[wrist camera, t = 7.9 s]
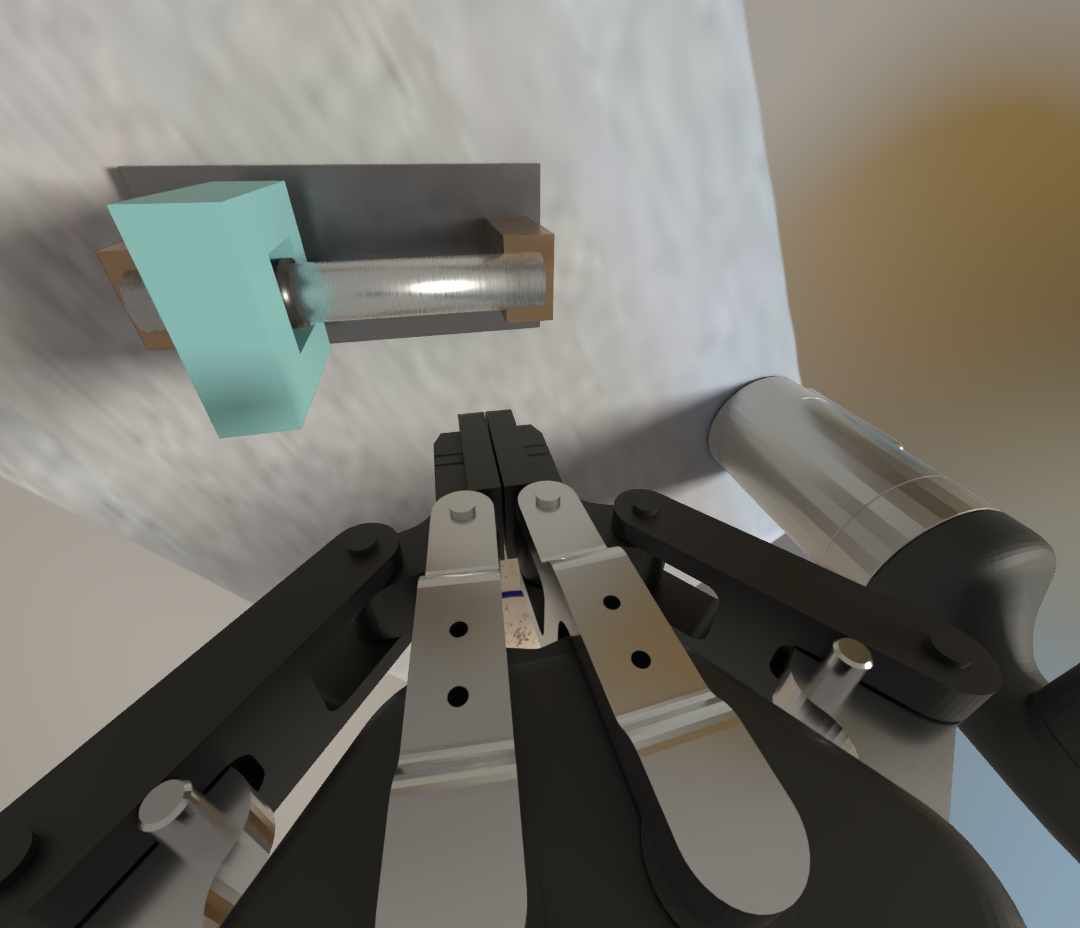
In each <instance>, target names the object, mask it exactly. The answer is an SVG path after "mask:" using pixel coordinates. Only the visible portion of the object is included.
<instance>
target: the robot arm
mask: <svg viewBox="0 0 1080 928" xmlns="http://www.w3.org/2000/svg"><path fill="white" fill-rule="evenodd" d="M458 420H459V429H460V432H451V433H441V434H440V436H439V437H438V439H437V440H436V442H435V443H434V464H435V488H436V503H435V504H434V505H433V508H432V510H431V515H430V517H428V518H427V519H426V520H425V521H424V522H422V523H421V524H419V525H417V526H415V527H413V528H411V529H408V530H405V531H403V532H400V533H396V531H395V530H394V529H393V528H391V527H389V526H387V525H384V524H380V523H365V524H360V525H357V526H354V527H351V528H349V529H347V530H345V531H343V532H342V533H340V534H339V535H338V536H336V537H335V538H334V539H333V540H332V541H330V542H329V543H328V544H327V545H326V546H324V547H323V548H322V549H321V550H319V551H318V552H317V553H316V554H315V555H313V556H312V557H311V558H310V559H308V560H307V561H306V562H305V563H304V564H302V565H301V566H300V567H299V568H297V569H296V570H295V571H294V572H293V573H291V574H290V575H289V576H288V577H287V578H285V579H284V580H283V581H282V582H280V583H279V584H278V585H277V586H276V587H274V588H273V589H272V590H271V591H269V592H268V593H267V594H266V595H265V596H263V597H262V598H261V599H260V600H258V601H257V602H256V603H255V604H254V605H252V606H251V607H250V608H249V609H248V610H247V611H245V612H244V613H243V614H241V615H240V616H239V617H238V618H237V619H235V620H234V621H233V622H232V623H230V624H229V625H228V626H227V627H226V628H224V629H223V630H222V631H221V632H220V633H218V634H217V635H216V636H215V637H213V638H212V639H211V640H210V641H209V642H207V643H206V644H205V645H204V646H202V647H201V648H200V649H199V650H198V651H197V652H195V653H194V654H193V655H192V656H190V657H189V658H188V659H187V660H186V661H184V662H183V663H182V664H181V665H180V666H178V667H177V668H176V669H174V670H173V671H172V672H171V673H170V674H168V675H167V676H166V677H165V678H164V679H162V680H161V681H160V682H159V683H157V684H156V685H155V686H154V687H153V688H151V689H150V690H149V691H148V692H146V693H145V694H144V695H143V696H142V697H140V698H139V699H138V700H137V701H136V702H135V703H133V704H132V705H131V706H129V707H128V708H127V709H126V710H125V711H123V712H122V713H121V714H120V715H118V716H117V717H116V718H115V719H114V720H112V721H111V722H110V723H109V724H107V725H106V726H105V727H104V728H103V729H101V730H100V731H99V732H98V733H97V734H95V735H94V736H93V737H92V738H90V739H89V740H88V741H87V742H85V743H84V744H83V745H82V746H81V747H79V748H78V749H77V750H76V751H75V752H74V753H72V754H71V755H70V756H68V757H67V758H66V759H65V760H64V761H62V762H61V763H60V764H59V765H57V766H56V767H55V768H54V769H53V770H51V771H50V772H49V773H48V774H46V775H45V776H44V777H43V778H42V779H40V780H39V781H38V782H37V783H36V784H34V785H33V786H32V787H31V788H29V789H28V790H27V791H26V792H25V793H23V794H22V795H21V796H20V797H18V798H17V799H16V800H15V801H14V802H12V803H11V804H10V805H9V806H8V807H6V808H5V809H4V810H3V811H1V812H0V928H1027V927H1026V925H1025V923H1024V921H1023V919H1022V917H1021V915H1020V913H1019V911H1018V910H1017V908H1016V906H1015V904H1014V902H1013V900H1012V899H1011V897H1010V896H1009V894H1008V893H1007V891H1006V890H1005V888H1004V886H1003V885H1002V883H1001V882H1000V880H999V879H998V878H997V876H996V875H995V873H994V872H993V871H992V870H991V868H990V867H989V865H988V864H987V863H986V861H985V860H984V859H983V858H982V857H981V856H980V854H979V853H978V852H977V851H976V850H975V849H974V848H973V846H972V845H971V844H970V843H969V842H968V841H967V840H966V839H965V838H964V837H963V836H962V835H961V834H960V833H959V832H958V831H957V830H956V829H955V828H954V827H953V826H952V825H951V824H949V814H950V801H951V800H950V799H951V786H952V772H953V759H954V746H955V731H956V727H959V729H960V730H961V731H962V732H963V733H964V734H965V736H966V737H967V738H968V739H969V740H970V742H971V743H972V744H973V745H974V746H975V747H976V749H977V750H978V751H979V752H980V753H981V754H982V756H983V757H984V758H985V759H986V760H987V761H988V763H989V764H990V765H991V766H992V767H993V768H994V770H995V771H996V772H997V773H998V774H999V775H1000V777H1001V778H1002V779H1003V780H1004V781H1005V782H1006V784H1007V785H1008V786H1009V787H1010V788H1011V790H1012V791H1013V792H1014V793H1015V794H1016V795H1017V796H1018V798H1019V799H1020V800H1021V801H1022V802H1023V803H1024V804H1025V805H1026V807H1027V808H1028V809H1029V810H1030V811H1031V812H1032V813H1033V814H1034V815H1035V817H1036V818H1037V819H1038V820H1039V821H1040V822H1041V823H1042V824H1043V826H1044V827H1045V828H1046V829H1047V830H1048V831H1049V832H1050V833H1051V834H1052V835H1053V837H1054V838H1055V839H1056V840H1057V841H1058V842H1059V843H1060V844H1061V845H1062V846H1063V847H1064V848H1065V849H1066V850H1067V851H1068V852H1069V853H1070V854H1071V855H1072V856H1073V857H1074V858H1075V859H1076V860H1077V861H1078V862H1079V863H1080V663H1079V664H1078V665H1076V666H1074V667H1073V668H1071V669H1070V670H1068V671H1067V672H1065V673H1064V674H1062V675H1061V676H1059V677H1058V678H1056V679H1055V680H1053V681H1052V682H1050V683H1048V681H1047V680H1046V679H1045V678H1044V677H1043V675H1042V674H1041V673H1040V671H1039V669H1038V667H1037V665H1036V663H1035V660H1034V655H1033V630H1034V624H1035V620H1036V616H1037V613H1038V610H1039V608H1040V605H1041V603H1042V601H1043V598H1044V596H1045V594H1046V592H1047V590H1048V587H1049V585H1050V583H1051V581H1052V579H1053V576H1054V573H1055V569H1056V557H1055V553H1054V551H1053V549H1052V547H1051V546H1050V545H1049V544H1048V543H1047V542H1046V541H1045V540H1044V539H1043V538H1042V537H1041V536H1040V535H1038V534H1037V533H1035V532H1034V531H1033V530H1031V529H1030V528H1028V527H1026V526H1025V525H1023V524H1021V523H1020V522H1018V521H1016V520H1015V519H1014V518H1012V517H1010V516H1009V515H1007V514H1005V513H1004V512H1001V511H999V510H998V509H996V508H995V507H993V506H992V505H990V504H989V503H987V502H985V501H984V500H982V499H981V498H979V497H977V496H976V495H974V494H972V493H971V492H969V491H968V490H966V489H965V488H963V487H961V486H960V485H958V484H957V483H955V482H953V481H952V480H950V479H949V478H946V477H945V476H943V475H941V474H940V473H938V472H937V471H935V470H934V469H932V468H930V467H929V466H927V465H926V464H924V463H923V462H921V461H920V460H918V459H916V458H915V457H913V456H912V455H910V454H908V453H907V452H905V451H904V450H903V446H902V444H901V443H899V442H898V441H896V440H894V439H893V438H891V437H890V436H888V435H886V434H885V433H883V432H882V431H880V430H878V429H877V428H875V427H873V426H872V425H870V424H869V423H867V422H865V421H864V420H862V419H860V418H859V417H857V416H855V415H854V414H852V413H851V412H849V411H847V410H846V409H844V408H842V407H841V406H839V405H838V404H836V403H834V402H833V401H831V400H830V399H828V398H826V397H825V396H823V395H821V394H820V393H818V392H817V391H815V390H813V389H812V388H804V387H802V386H801V385H799V384H797V383H796V382H794V381H792V380H790V379H788V378H785V377H778V376H777V377H767V378H764V379H760V380H757V381H755V382H753V383H751V384H749V385H747V386H745V387H744V388H742V389H741V390H739V391H738V392H736V393H735V394H734V395H733V396H732V397H731V398H730V399H729V400H728V401H727V402H726V403H725V404H724V405H723V407H722V408H721V409H720V410H719V412H718V413H717V415H716V417H715V419H714V420H713V423H712V426H711V428H710V432H709V438H708V442H709V449H710V452H711V454H712V456H713V457H714V458H715V459H716V461H717V462H718V463H719V464H720V465H721V466H722V467H723V468H724V469H725V470H726V471H727V472H728V473H729V474H730V475H731V476H732V477H733V478H734V479H735V480H736V481H737V482H738V484H739V485H740V486H741V487H742V488H743V489H744V490H745V491H746V492H747V493H748V494H749V495H750V496H751V497H752V498H753V499H754V500H755V501H756V502H757V503H758V504H759V506H760V507H761V508H762V509H763V510H764V511H765V512H766V513H767V514H768V515H769V516H770V517H771V518H772V519H773V520H774V521H775V522H776V523H777V524H778V525H779V526H780V527H781V528H782V529H783V530H784V531H785V533H787V535H788V536H789V537H790V538H791V539H792V540H793V541H794V542H795V543H796V544H797V545H798V546H799V547H800V548H801V549H802V550H803V551H804V552H805V553H806V554H807V555H808V556H809V557H810V558H811V559H812V560H813V562H815V564H814V563H812V562H810V561H808V560H806V559H804V558H801V557H799V556H797V555H795V554H792V553H790V552H788V551H786V550H784V549H781V548H779V547H777V546H775V545H773V544H770V543H768V542H766V541H764V540H761V539H759V538H757V537H755V536H753V535H750V534H748V533H746V532H744V531H742V530H739V529H737V528H735V527H733V526H730V525H728V524H726V523H724V522H722V521H719V520H717V519H715V518H713V517H711V516H708V515H706V514H704V513H702V512H699V511H697V510H695V509H693V508H691V507H688V506H686V505H684V504H682V503H680V502H677V501H675V500H673V499H671V498H668V497H666V496H664V495H662V494H660V493H657V492H654V491H651V490H645V489H634V490H629V491H625V492H623V493H621V494H620V495H619V496H618V497H617V498H616V500H615V502H614V505H605V504H595V503H589V502H585V501H582V500H580V499H579V498H578V496H577V494H576V493H575V491H574V490H573V489H572V488H570V487H569V486H567V485H565V484H563V483H562V480H561V478H560V475H559V473H558V471H557V468H556V466H555V463H554V461H553V459H552V456H551V454H550V451H549V449H548V447H547V446H546V442H545V440H544V437H543V435H542V433H541V432H540V431H539V430H537V429H536V428H535V427H533V426H532V425H521V426H517V425H516V422H515V420H514V417H513V414H512V411H511V409H509V410H499V411H488V412H485V415H484V412H478V413H467V414H458ZM504 545H505V550H506V555H507V559H514V558H517V559H518V563H519V570H520V585H521V588H522V592H523V595H524V598H525V601H526V604H527V607H528V610H529V613H530V616H531V619H532V622H533V625H534V628H535V632H536V635H537V638H538V641H539V644H540V648H538V649H525V648H506V640H505V628H504V616H503V604H502V592H501V580H500V579H501V567H500V561H502V560H505V554H504ZM665 563H667V564H669V565H671V566H673V567H675V568H676V569H678V570H680V571H682V572H684V573H686V574H688V575H689V576H691V577H693V578H695V579H697V580H699V581H701V582H703V583H704V584H706V585H708V586H710V587H711V588H712V589H713V590H714V591H715V593H716V594H717V596H718V599H716V598H714V597H712V596H710V595H708V594H707V593H705V592H703V591H701V590H699V589H697V588H696V587H694V586H692V585H690V584H688V583H686V582H685V581H683V580H681V579H679V578H677V577H675V576H674V575H672V574H670V573H668V572H666V571H664V570H663V569H664V565H665ZM411 642H412V643H411ZM410 643H411V653H410V662H409V672H408V681H407V685H406V686H405V687H404V688H402V689H401V690H399V691H398V692H397V693H395V694H394V695H393V696H392V697H391V698H390V699H389V700H388V701H386V702H385V703H384V704H383V705H382V706H381V707H380V708H379V710H378V711H377V712H376V713H375V714H374V715H373V716H372V717H371V719H370V720H369V721H368V722H367V724H366V725H365V727H364V728H363V729H362V730H361V732H360V733H359V735H358V736H357V737H356V739H355V740H354V742H353V743H352V744H351V746H350V747H349V748H348V750H347V751H346V753H345V754H344V755H343V757H342V758H341V759H340V761H339V762H338V764H337V765H336V766H335V768H334V769H333V771H332V772H331V773H330V775H329V776H328V777H327V779H326V780H325V782H324V783H323V784H322V786H321V787H320V789H319V790H318V791H317V793H316V794H315V795H314V797H313V798H312V800H311V801H310V802H309V804H308V805H307V806H306V808H305V809H304V811H303V812H302V814H301V815H300V816H299V818H298V819H297V820H296V822H295V823H294V824H293V826H292V827H291V829H290V830H289V832H288V833H287V834H286V836H285V837H284V838H283V840H282V841H281V842H280V844H279V845H278V846H277V848H276V849H275V851H274V852H273V853H272V855H271V856H270V858H269V859H268V860H267V858H268V856H269V853H270V850H271V848H272V845H273V841H274V835H275V818H274V814H273V813H274V812H275V811H276V809H277V808H278V807H279V806H280V804H281V803H282V802H283V801H284V799H285V798H286V797H287V796H288V794H289V793H290V792H291V791H292V789H293V788H294V787H295V786H296V784H297V783H298V782H299V781H300V779H301V778H302V777H303V776H304V775H305V773H306V772H307V771H308V769H309V768H310V767H311V766H312V765H313V763H314V762H315V761H316V759H317V758H318V757H319V756H320V755H321V753H322V752H323V751H324V750H325V748H326V747H327V746H328V745H329V743H330V742H331V741H332V740H333V738H334V737H335V736H336V735H337V734H338V732H339V731H340V730H341V729H342V727H343V726H344V725H345V723H346V722H347V721H348V720H349V719H350V717H351V716H352V715H353V714H354V712H355V711H356V710H357V709H358V707H359V706H360V705H361V703H362V702H363V701H364V700H365V699H366V698H367V696H368V695H369V694H370V693H371V691H372V690H373V689H374V687H375V686H376V685H377V684H378V682H379V681H380V680H381V679H382V678H383V676H384V675H385V674H386V673H387V671H388V670H389V669H390V668H391V667H392V665H393V664H394V663H395V662H396V660H397V659H398V658H399V657H400V655H401V654H402V653H403V652H404V650H405V649H406V648H407V647H408V645H409V644H410ZM266 860H267V862H266ZM265 862H266V863H265Z"/></svg>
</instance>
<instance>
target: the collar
mask: <svg viewBox="0 0 1080 928" xmlns="http://www.w3.org/2000/svg"><path fill="white" fill-rule="evenodd" d="M106 206H107V208H108V210H109V212H110V214H111V216H112V218H113V220H114V222H115V224H116V226H117V228H118V230H119V232H120V234H121V236H122V239H123V241H124V243H125V245H126V247H127V249H128V251H129V253H130V255H131V257H132V259H133V261H134V263H135V265H136V267H137V269H138V271H139V274H140V276H141V278H142V280H143V282H144V284H145V286H146V288H147V290H148V292H149V294H150V296H151V298H152V300H153V302H154V304H155V306H156V309H157V311H158V313H159V315H160V317H161V319H162V321H163V323H164V325H165V327H166V329H167V331H168V333H169V335H170V337H171V339H172V341H173V343H174V346H175V348H176V350H177V352H178V354H179V356H180V358H181V360H182V362H183V364H184V366H185V368H186V370H187V372H188V374H189V376H190V378H191V381H192V383H193V385H194V387H195V389H196V391H197V393H198V395H199V397H200V399H201V401H202V403H203V405H204V407H205V409H206V411H207V413H208V416H209V418H210V420H211V422H212V424H213V426H214V428H215V430H216V432H217V434H218V436H219V438H227V437H236V436H245V435H254V434H263V433H272V432H281V431H291V430H300V429H302V427H303V424H304V421H305V419H306V416H307V413H308V410H309V408H310V405H311V402H312V399H313V396H314V394H315V391H316V388H317V385H318V383H319V380H320V377H321V374H322V372H323V369H324V366H325V363H326V361H327V358H328V355H329V352H330V350H331V346H330V343H329V339H328V335H327V332H326V328H325V325H324V322H318V323H310V326H309V327H308V328H299V329H292V327H291V324H290V321H289V318H288V315H287V312H286V308H285V305H284V302H283V299H282V296H281V293H280V290H279V287H278V284H277V280H276V277H275V274H274V271H273V268H272V265H271V262H270V259H274V258H293V259H294V260H295V262H296V263H301V262H307V260H306V256H305V253H304V249H303V245H302V242H301V238H300V235H299V231H298V227H297V224H296V220H295V217H294V213H293V209H292V206H291V202H290V199H289V195H288V191H287V188H286V184H285V181H218V182H208V183H203V184H199V185H194V186H189V187H185V188H180V189H175V190H171V191H166V192H162V193H157V194H152V195H148V196H143V197H139V198H134V199H129V200H125V201H120V202H116V203H111V204H106Z"/></svg>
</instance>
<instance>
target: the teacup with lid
mask: <svg viewBox="0 0 1080 928" xmlns="http://www.w3.org/2000/svg"><path fill="white" fill-rule="evenodd" d="M504 554H505V560H502V561H500V567H501V579H500V580H501V592H502V604H503V616H504V628H505V640H506V648H525V649H538V648H540V644H539V641H538V638H537V635H536V632H535V628H534V625H533V622H532V619H531V616H530V613H529V610H528V607H527V604H526V601H525V598H524V595H523V592H522V588H521V585H520V570H519V563H518V559H517V558H514V559H507V555H506V550H505V545H504Z"/></svg>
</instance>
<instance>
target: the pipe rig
mask: <svg viewBox="0 0 1080 928" xmlns="http://www.w3.org/2000/svg"><path fill="white" fill-rule="evenodd" d="M118 169H119V171H120V173H121V176H122V178H123V180H124V182H125V184H126V187H127V189H128V191H129V193H130V195H131V198H132V199H134V198H139V197H143V196H148V195H152V194H157V193H162V192H166V191H171V190H175V189H180V188H185V187H189V186H194V185H199V184H203V183H208V182H218V181H285V184H286V188H287V191H288V195H289V199H290V202H291V206H292V209H293V213H294V217H295V220H296V224H297V227H298V231H299V235H300V238H301V242H302V245H303V249H304V253H305V256H306V260H307V262H301V263H296V262H295V260H294V259H293V258H274V259H270V262H271V265H272V268H273V271H274V274H275V277H276V280H277V284H278V287H279V290H280V293H281V296H282V299H283V302H284V305H285V308H286V312H287V315H288V318H289V321H290V324H291V327H292V329H299V328H308V327H309V326H310V323H318V322H324V325H325V328H326V332H327V335H328V339H329V343H343V342H356V341H368V340H381V339H394V338H407V337H420V336H433V335H445V334H458V333H471V332H484V331H497V330H510V329H522V328H535V327H540V321H544V320H553V278H554V233H552V232H550V231H549V230H547V229H546V228H544V227H543V226H541V225H540V164H539V163H475V164H324V165H174V166H119V167H118ZM95 252H96V254H97V256H98V257H99V259H100V261H101V263H102V265H103V267H104V269H105V271H106V273H107V275H108V276H109V278H110V280H111V282H112V284H113V286H114V288H115V290H116V292H117V294H118V295H119V297H120V299H121V301H122V303H123V305H124V307H125V309H126V311H127V313H128V315H129V316H130V318H131V320H132V322H133V324H134V326H135V328H136V330H137V332H138V334H139V335H140V337H141V339H142V341H143V343H144V345H145V347H146V349H147V350H159V349H172V348H175V346H174V343H173V341H172V339H171V337H170V335H169V333H168V331H167V329H166V327H165V325H164V323H163V321H162V319H161V317H160V315H159V313H158V311H157V309H156V306H155V304H154V302H153V300H152V298H151V296H150V294H149V292H148V290H147V288H146V286H145V284H144V282H143V280H142V278H141V276H140V274H139V271H138V269H137V267H136V265H135V263H134V261H133V259H132V257H131V255H130V253H129V251H128V249H127V247H126V245H125V243H124V241H123V242H120V243H117V244H114V245H111V246H109V247H106V248H103V249H100V250H98V251H95Z"/></svg>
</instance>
